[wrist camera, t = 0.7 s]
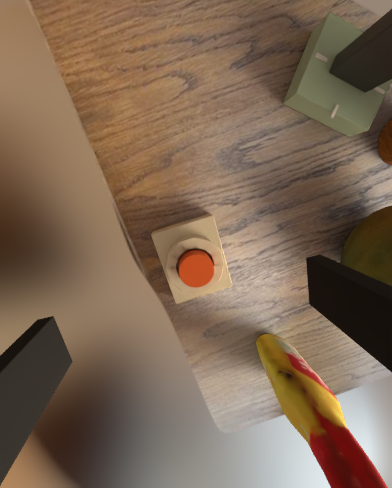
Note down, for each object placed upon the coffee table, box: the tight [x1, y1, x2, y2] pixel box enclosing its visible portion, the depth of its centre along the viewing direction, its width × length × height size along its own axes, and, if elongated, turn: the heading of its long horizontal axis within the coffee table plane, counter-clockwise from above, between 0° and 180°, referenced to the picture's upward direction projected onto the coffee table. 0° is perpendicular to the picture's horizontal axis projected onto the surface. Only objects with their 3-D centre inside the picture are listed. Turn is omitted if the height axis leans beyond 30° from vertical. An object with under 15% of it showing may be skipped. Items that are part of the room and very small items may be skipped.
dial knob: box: [329, 9, 392, 93], centre depth 20 cm, size 5×2×7 cm, turn 70°
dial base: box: [283, 12, 392, 136], centre depth 25 cm, size 10×9×3 cm
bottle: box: [256, 334, 388, 488], centre depth 25 cm, size 12×6×20 cm, turn 35°
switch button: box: [179, 250, 214, 288], centre depth 25 cm, size 4×4×2 cm
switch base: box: [151, 213, 233, 304], centre depth 28 cm, size 10×8×4 cm
